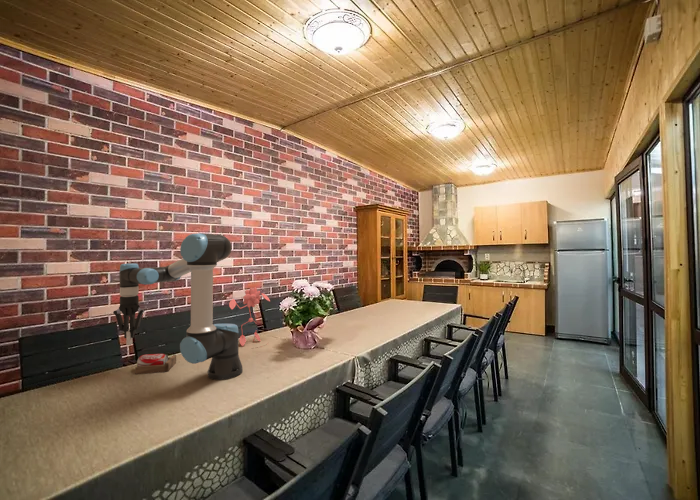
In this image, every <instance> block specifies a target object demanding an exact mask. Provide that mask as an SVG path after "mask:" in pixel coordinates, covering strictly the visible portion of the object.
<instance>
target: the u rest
mask: <svg viewBox="0 0 700 500" xmlns="http://www.w3.org/2000/svg"><path fill="white" fill-rule="evenodd" d="M176 363H177V355H176V354H173V355H172V356H171V357H169V356H168V361H167V362H166V363H165V364H164V365H151V366H138V367H137V366H135V368H134V369H135V375H143V374H144V375H145V374H154V373H167V372H170V370H172V368H174V366H175V365H176Z"/></svg>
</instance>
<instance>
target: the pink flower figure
mask: <svg viewBox="0 0 700 500" xmlns="http://www.w3.org/2000/svg"><path fill="white" fill-rule="evenodd" d="M244 294H245V295H244V296H243V297H242V298H243V302H242V304H243V305H244V306H242V307H240V306H239V305H238V303H237V302H236V300H235V299H234V298H232V299H230V301H229V304H228V306H229V308H230V309H231V310H234V309H235V307H236V306H237V307H238V308H239V309H240V310H241V309H243V308H246V307H247V309H248V310H249V311H248V312H249V316H250V317H249V318H248V321H246V322H244V323H242V325H240V326H241V327H240V329H241V330H243V325H246V324H247V323H252V322H254V323H256V321H255V320H254V318H253V317H252V313H251V307H252V308H255V307H256V306H257V305H259V304H260V300H261V298H262V297H263V299H265V300H266V301H267V302H271V300H270V298H269V296H268V295H266V293H263V292H261V291H260V290H258V288H257V287H256V286H254V288H253V287H250V288H249V289H246V290H244ZM243 332H244V331H241V335H240V336H239V345H241V347H242V348H243V347H244V346H245V344H246V341H247V339H246V336H245V335H243ZM253 335H254V337H253V340H252V341H253V342H255V339H256V340H257V341H258V342H261V337H260V335H259V333H257V331H255V332H254V333H253ZM267 345H268V343H267V344H265V345H262V346H260V348H262V347H265V346H267ZM257 348H258V349H259V346H258V347H256V349H257ZM251 349H253V348H251Z"/></svg>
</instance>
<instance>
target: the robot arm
mask: <svg viewBox="0 0 700 500" xmlns="http://www.w3.org/2000/svg"><path fill="white" fill-rule="evenodd" d="M232 247H233V246H232V242H231V241H230V239H228V238H227V236H224V235H222V234H218V233H217V234H216V233H215V234H212V233H201V232H200V233H199V232H198V233H190V234H188V235H187V236H185V238H183V240H182V241H181V244H180V248H179V249H180V256H181V257H182V258H180V259H179V260H177V261H174V262H173V263H171V264H169V265H166V266H157V267H139V264H138V263H132V262H131V263H122V264H120V266H119V272H118V274H119V276H118V277H119V296H120V297H119V306H118V309H115V310H113V315H114V316H115V317H116V322H117V326H118V329H119V331H123V332H124V333H123V334H124V335H123V337H124V339H125V340H126V341H125V344H126V346H131V345H133V339H134V337H135V332H136V330H138V329H139V328H140V325H141V321H142V318H143V314H144V313H145V311H146V309H144V308H141V306H140V304H139V303H140V301H139V297H140V296H139V295H138V294H139V285H144V286H145V285H153V284H156V283H157V284H158V283H165V282H166V283H168V282H169V283H170V282H175V281H179V280H180V279H181V278H182V276H185V275H187V274H189V273H190V326H189V327H188V328H187V329H186V336H185V337H184V338H183V339H182V340H181V341H180V343H179V351H180V354H181V356H182V357H183V359H185V361H186V362H187V363H189V364H199V363H204V362H205V361H207V360H211V361H210V362H209V366H208V369H207V378H209V379H211V380H217V381H218V380H219V381H221V380H228V379H232V378H236V377H238V376H240V375H241V374H242V373H243V363H242V361H241V359H240V356H239V351H240V350H239V349H240V348H239V347H240V346H239V345H240V341H239V338H240V336H239V333H240V332H239V327H238V325H237V324H235V323H214V313H213V312H214V309H213V308H214V304H213V303H214V269H215V268H216V267H217V265H218V263H219V262H221V261H223V260H226V259H228V257H230V255H231V253H232V250H233V249H232ZM121 313H122V314H121ZM136 313H138V314H137V316H136ZM213 323H214V324H213Z"/></svg>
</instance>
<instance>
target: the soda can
mask: <svg viewBox="0 0 700 500" xmlns="http://www.w3.org/2000/svg"><path fill="white" fill-rule="evenodd" d="M168 358H169V355H168V354H165V353H150V354H149V353H148V354H141V355H140V356H139V357H138V358H137V361H136V367H138V366H151V365H164V364H165V363H166V362H167V361H168Z"/></svg>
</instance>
